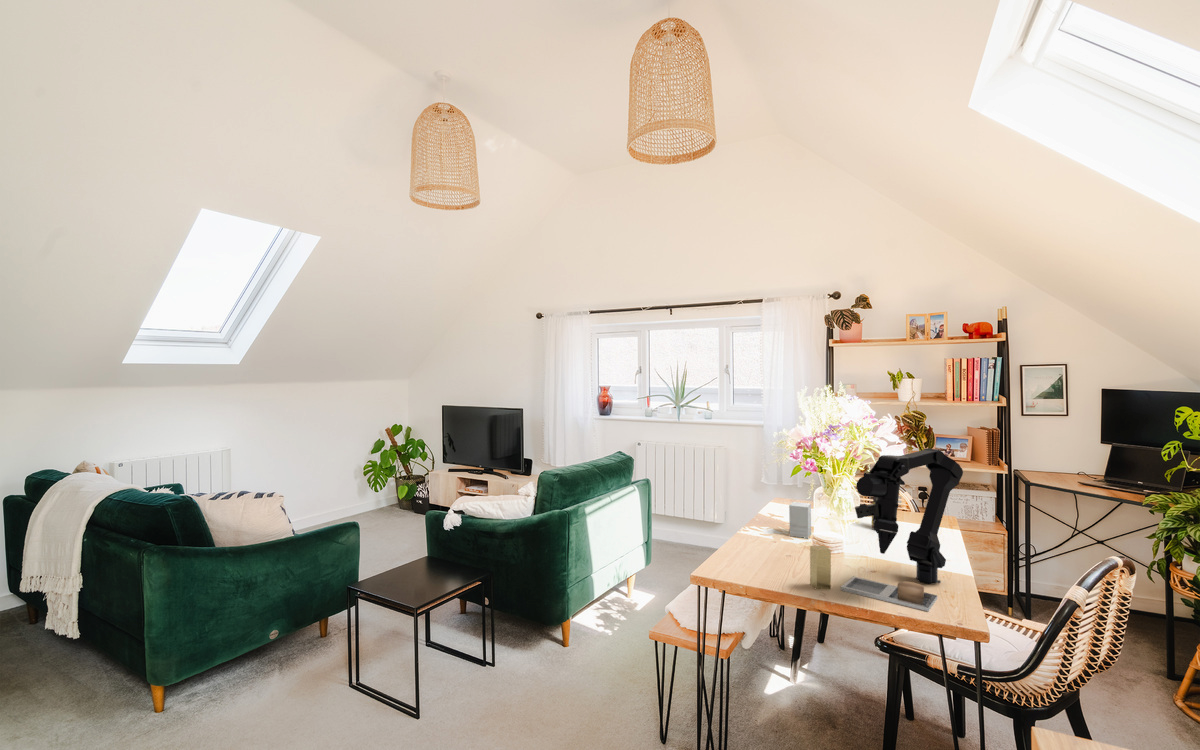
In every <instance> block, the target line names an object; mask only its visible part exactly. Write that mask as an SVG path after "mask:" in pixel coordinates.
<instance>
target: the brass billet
mask: <svg viewBox="0 0 1200 750" xmlns="http://www.w3.org/2000/svg"><path fill="white" fill-rule="evenodd" d="M809 551H810V552H809V553H810V554H809V577H810V578H809V585H810V586H811V585H812V586H811V587H812V588H814V589H815V588H816V589H826V590H827V589H828V590H831V586H832V585H831V581H832V575H831V574H832V568H831V567H832V565H831V563H832V559H831V558H832V551H831V549H830V548H829V547H827V546H825V545H810V546H809ZM816 589H815V590H816ZM828 590H827V591H828Z"/></svg>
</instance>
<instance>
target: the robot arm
mask: <svg viewBox="0 0 1200 750" xmlns="http://www.w3.org/2000/svg"><path fill="white" fill-rule="evenodd" d="M924 466H925V467H926V469H928V470H929V479H930V482H931V488H930V493H929V496H928V500H927V502H926V507H925V509H924V513H923V516H922V519H921V521H920V522H921V523H920V525H919V528H918V529H917V530H916V531H910V533H909V537H908V539H907V541H906V550H907V555H908V558H909V560H910V561H912V562H916V577H915V579H916V580H917V581H918V583H919V584H926V585H932V584H941V582H942V581H941V580H940V579H939V578H938V577H939V576H938V575H939V574H938V572H939V570H938V569H942V568H943V567H945V566H946V561H947V559H946V558H945V557H944V555H943V554H942V553H941V552H940V549H941V543H940V540H939V537H938V532H939V529H940V527H941V522H942V520H943V515H944V513H945V510H946V507H947V503H948V499H949V496H950V492H951V491H952V490H954V489H955V488H956V487H957V486H958V485H960V481H961V479H962V477H963V474H964V471H963V468H962V467H961V465H960V464H959V463H958V462H957V461H956V460H954V459H953V458H951V457H949V456H948V455H946V454H945V453H944V452H943V451H942V450H940V449H936V448H930V447H929V448H928V447H926V448H923V450H917V451H915V452H910V453H907V454H903V455H891V454H890V455H885V454H884V455H880V456H879V457H878V460H876V462H875V463H874V465H873V466H872V467H871V469H870V471H869V472H864V473H863V476H861V477H860V478H859V479H858V480H857V482H856V490H857V492H858V494H859V495H860V496H863V497H870V498H873V497H877V499H876V500H875V504H873V503H872V504H866V503H863V504H861V503H860V504H859V505H858V506H857V505H856V506H855V507H854V509H855V514H856V518H857V519H863V518H866V517H872V516H873V521H874V522H873V524H874V529H873V530H874V531H875V532H876V533H877V535H878V546H879V552H880V554H883V555H884V554H885V553H887V550H888V548H889V547H890V545H891V544H892V542H893V541H894V539H895V537H896V536H897V535H898V532H899V524H898V523H897V521H898V520H897V515H898V508H899V496H900V489H901V488H900V487H901V486H905V485H906V483H905V481H904V480H903V479H902V477H903V476H905V475H907V474H909V472H910V470H912V469H917V468H920V467H924ZM938 579H939V580H938Z"/></svg>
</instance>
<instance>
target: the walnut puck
mask: <svg viewBox="0 0 1200 750" xmlns="http://www.w3.org/2000/svg"><path fill="white" fill-rule="evenodd" d="M897 586H898V599H899V600H903V601H907V602H911V603H915V604H923V603H924V592H925V588H924V586H923V585H922V584H921V583H917V582H913V581H899V582H897Z"/></svg>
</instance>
